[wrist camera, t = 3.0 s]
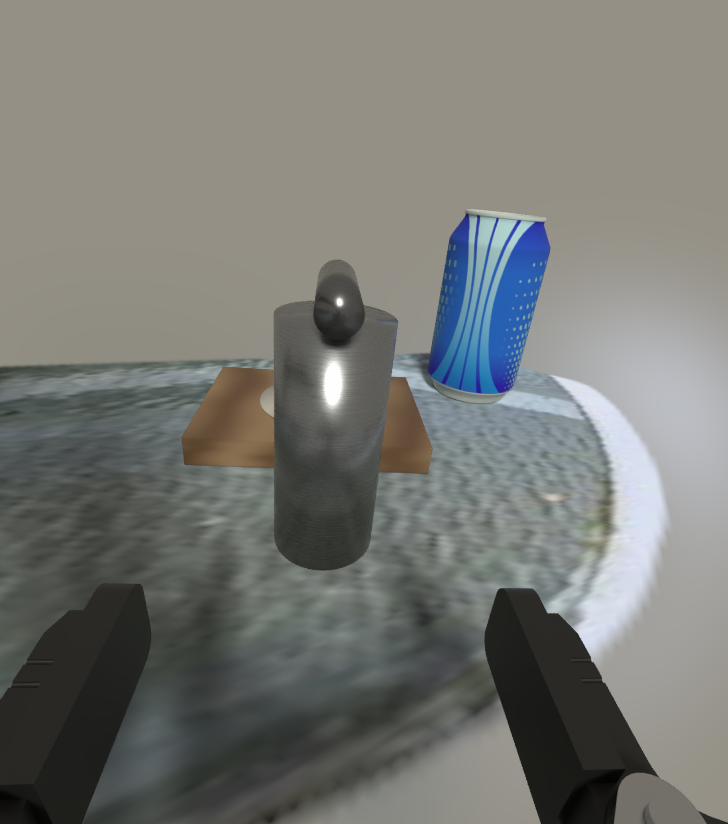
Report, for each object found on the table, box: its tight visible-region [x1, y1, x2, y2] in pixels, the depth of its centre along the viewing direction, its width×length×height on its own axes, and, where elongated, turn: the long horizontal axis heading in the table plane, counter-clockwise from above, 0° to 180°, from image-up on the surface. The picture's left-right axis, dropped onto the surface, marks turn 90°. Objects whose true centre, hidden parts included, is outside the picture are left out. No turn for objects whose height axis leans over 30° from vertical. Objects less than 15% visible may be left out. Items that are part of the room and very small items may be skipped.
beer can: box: [428, 209, 550, 404], centre depth 40 cm, size 8×8×16 cm
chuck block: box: [182, 367, 433, 473], centre depth 34 cm, size 16×12×2 cm
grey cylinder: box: [274, 260, 398, 570], centre depth 21 cm, size 5×6×14 cm
